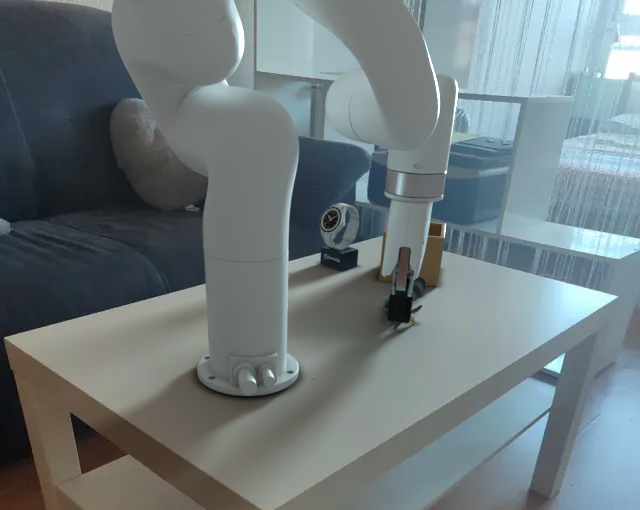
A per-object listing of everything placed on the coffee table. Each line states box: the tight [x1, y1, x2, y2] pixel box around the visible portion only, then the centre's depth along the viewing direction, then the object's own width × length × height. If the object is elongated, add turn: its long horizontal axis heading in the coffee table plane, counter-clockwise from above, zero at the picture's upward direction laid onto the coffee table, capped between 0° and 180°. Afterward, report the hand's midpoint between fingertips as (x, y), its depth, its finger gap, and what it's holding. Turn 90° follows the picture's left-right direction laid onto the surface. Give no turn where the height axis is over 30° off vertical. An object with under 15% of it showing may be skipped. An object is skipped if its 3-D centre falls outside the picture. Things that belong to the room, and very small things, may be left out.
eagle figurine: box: [376, 276, 428, 331], centre depth 95 cm, size 8×7×9 cm
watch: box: [319, 202, 360, 271], centre depth 116 cm, size 6×8×11 cm
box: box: [378, 221, 447, 287], centre depth 114 cm, size 10×10×8 cm
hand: (398, 319), depth 90 cm, fingers closed
